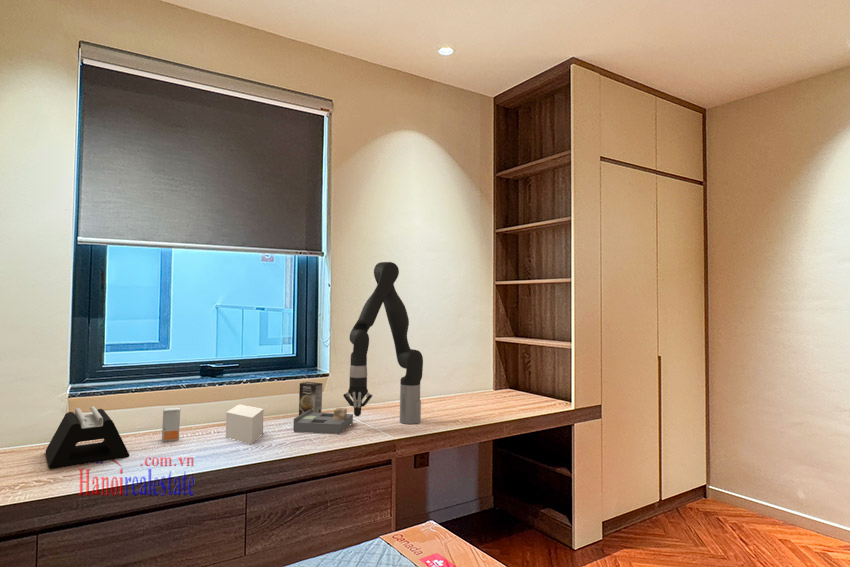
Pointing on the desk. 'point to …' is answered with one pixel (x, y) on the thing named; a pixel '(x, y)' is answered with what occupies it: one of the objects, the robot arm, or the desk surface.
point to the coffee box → (310, 397)
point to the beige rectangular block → (244, 423)
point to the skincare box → (171, 424)
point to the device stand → (85, 429)
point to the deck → (320, 423)
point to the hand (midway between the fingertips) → (357, 416)
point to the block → (340, 414)
